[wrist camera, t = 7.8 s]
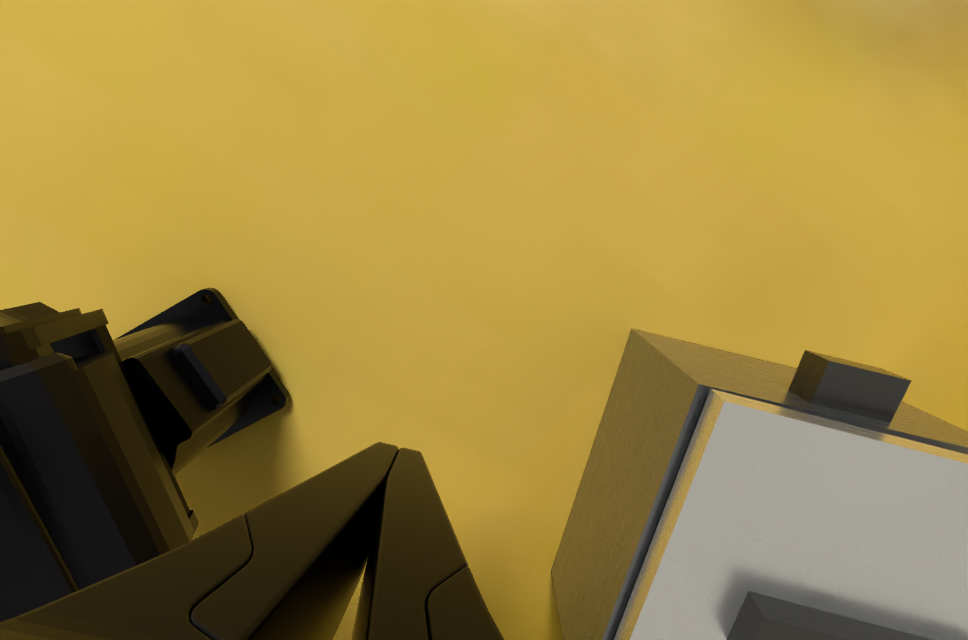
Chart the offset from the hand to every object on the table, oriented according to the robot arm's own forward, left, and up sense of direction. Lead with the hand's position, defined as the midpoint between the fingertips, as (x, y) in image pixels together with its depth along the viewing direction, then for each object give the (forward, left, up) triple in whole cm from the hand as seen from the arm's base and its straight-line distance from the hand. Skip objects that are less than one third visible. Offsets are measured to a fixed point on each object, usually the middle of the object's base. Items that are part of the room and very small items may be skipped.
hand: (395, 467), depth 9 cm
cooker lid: (+7, -14, -5) cm, 17 cm away
